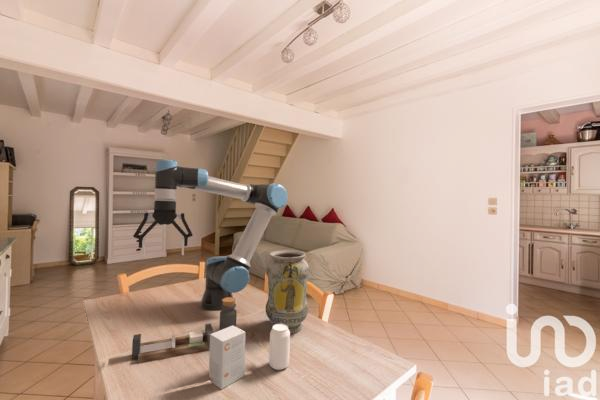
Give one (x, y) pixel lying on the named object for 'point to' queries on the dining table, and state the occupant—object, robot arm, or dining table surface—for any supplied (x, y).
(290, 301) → the vase
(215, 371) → the small box
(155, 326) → the dining table surface
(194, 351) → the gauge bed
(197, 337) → the cream cube
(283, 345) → the beverage can
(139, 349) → the grey sliding carriage
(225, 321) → the bottle
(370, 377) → the dining table surface
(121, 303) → the dining table surface
